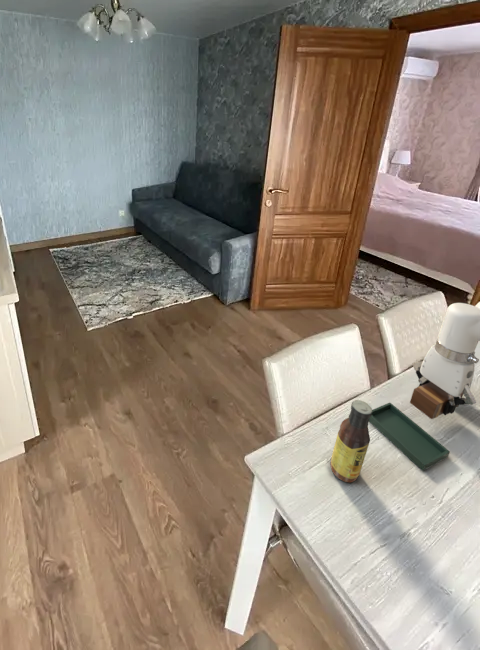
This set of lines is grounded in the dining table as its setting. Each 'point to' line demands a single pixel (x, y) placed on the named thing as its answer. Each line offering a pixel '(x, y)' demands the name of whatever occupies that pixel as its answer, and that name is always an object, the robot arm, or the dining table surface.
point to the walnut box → (430, 399)
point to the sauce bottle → (352, 443)
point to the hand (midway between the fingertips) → (434, 402)
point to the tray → (408, 436)
